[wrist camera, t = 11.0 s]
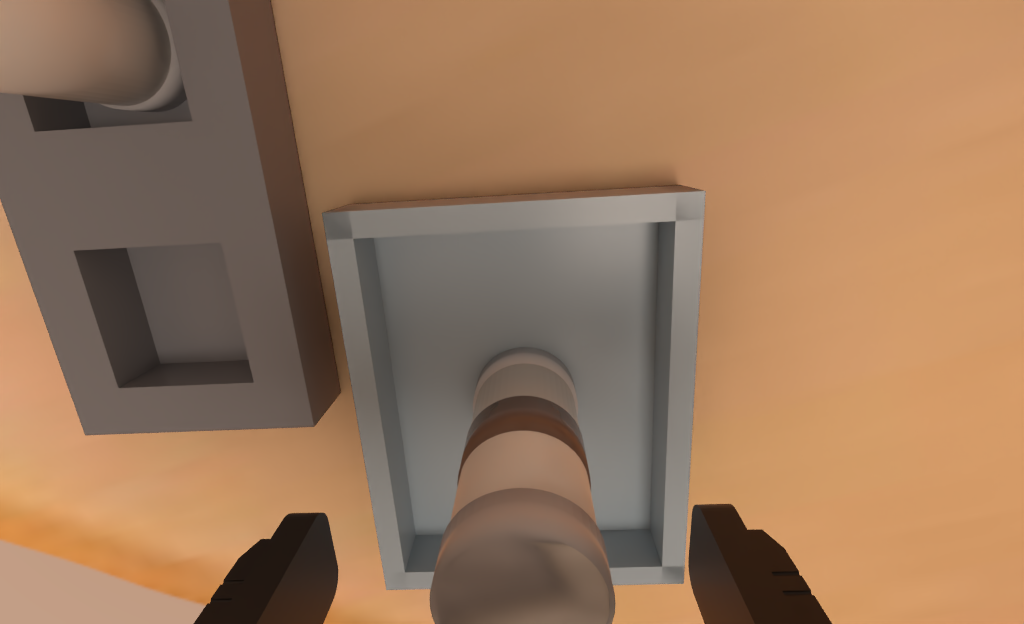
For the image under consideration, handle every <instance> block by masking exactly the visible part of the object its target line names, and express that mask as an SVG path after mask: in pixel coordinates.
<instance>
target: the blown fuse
mask: <svg viewBox="0 0 1024 624" xmlns="http://www.w3.org/2000/svg"><path fill="white" fill-rule="evenodd" d="M577 415H578V401H577V396H576V390H575V385H574V381H573V378H572V376H571V373H570V372H569V370H568V368H567V367H566V366H565V365H564V363H563V362H562V361H561V360H560V359H558V358H557V357H556V356H554V355H552V354H551V353H549V352H546V351H544V350H541V349H537V348H531V347H520V348H513V349H509V350H507V351H504V352H502V353H500V354H498V355H497V356H495V357H494V358H492V359H491V360H490V361H489V362H488V363H487V364H486V365H485V367H484V368H483V370H482V371H481V373H480V376H479V378H478V381H477V385H476V390H475V394H474V399H473V417H472V422H471V426H470V428H469V431H468V434H467V437H466V442H465V447H464V451H463V456H462V460H461V465H460V469H459V474H458V481H457V485H458V488H457V492H456V497H455V502H454V507H453V511H452V516H451V521H450V523H449V524H448V526H447V528H446V530H445V532H444V534H443V538H442V541H441V545H440V549H439V554H438V558H437V563H436V567H435V572H434V576H433V581H432V585H431V590H430V609H431V613H432V617H433V620H434V622H435V624H612V621H613V617H614V614H615V594H614V589H613V584H612V579H611V573H610V568H609V563H608V558H607V552H606V547H605V543H604V539H603V537H602V534H601V532H600V530H599V528H598V527H597V524H596V518H595V512H594V507H593V501H592V496H591V480H590V474H589V468H588V463H587V458H586V452H585V447H584V441H583V437H582V433H581V431H580V428H579V423H578V418H577Z"/></svg>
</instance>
